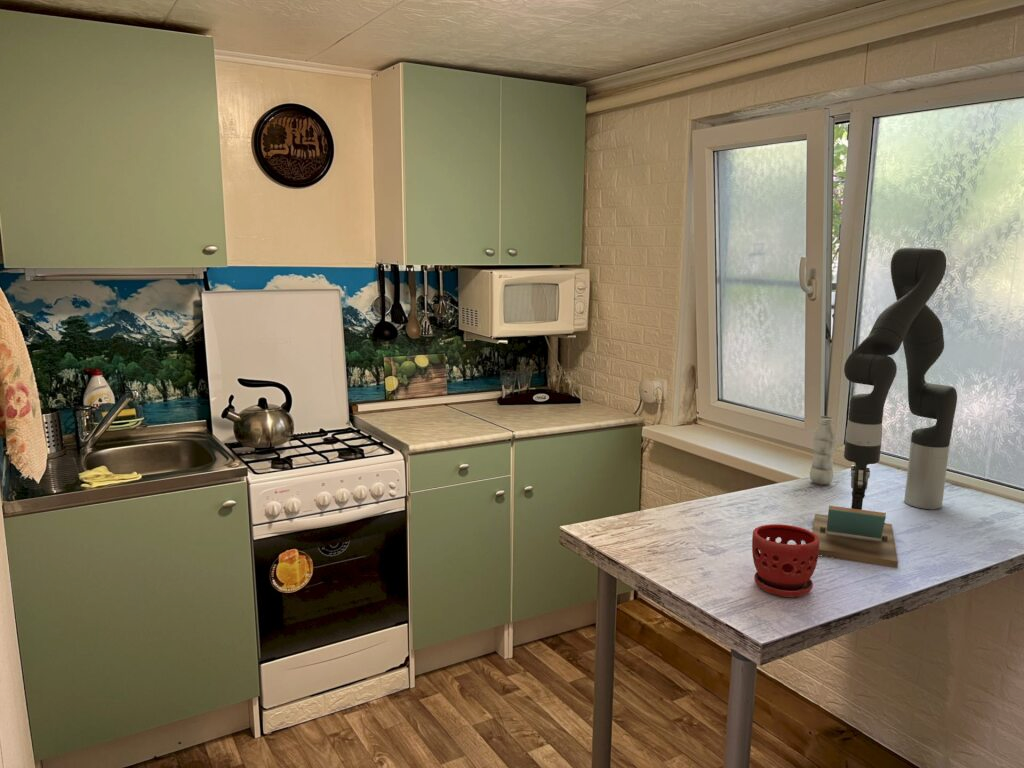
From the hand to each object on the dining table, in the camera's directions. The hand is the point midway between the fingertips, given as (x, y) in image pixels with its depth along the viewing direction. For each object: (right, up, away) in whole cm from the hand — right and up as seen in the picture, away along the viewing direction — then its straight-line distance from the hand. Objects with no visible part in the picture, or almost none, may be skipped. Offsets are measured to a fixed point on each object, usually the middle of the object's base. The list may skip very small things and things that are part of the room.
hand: (856, 511), depth 181 cm
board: (+2, -8, +6) cm, 10 cm away
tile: (+1, -2, +2) cm, 3 cm away
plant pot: (-23, -13, -18) cm, 32 cm away
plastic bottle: (+11, 0, +48) cm, 49 cm away
